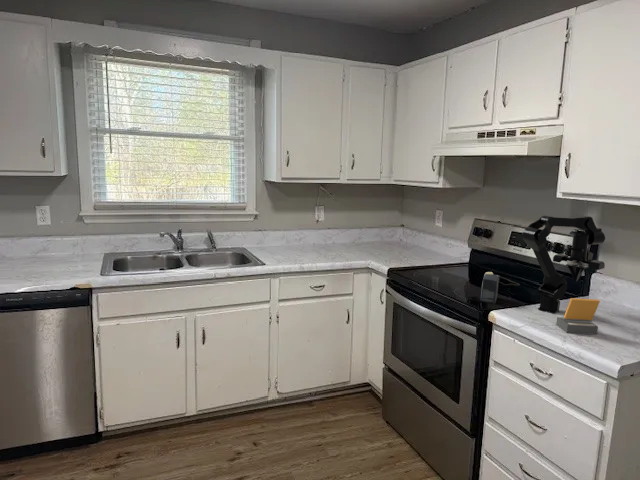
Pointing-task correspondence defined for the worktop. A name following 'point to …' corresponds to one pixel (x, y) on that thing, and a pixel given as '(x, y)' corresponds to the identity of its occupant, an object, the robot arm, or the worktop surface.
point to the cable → (504, 278)
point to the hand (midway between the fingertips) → (575, 281)
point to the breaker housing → (577, 326)
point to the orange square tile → (581, 309)
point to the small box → (490, 288)
